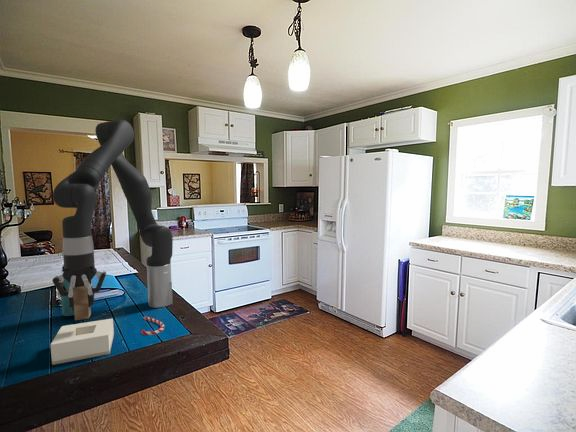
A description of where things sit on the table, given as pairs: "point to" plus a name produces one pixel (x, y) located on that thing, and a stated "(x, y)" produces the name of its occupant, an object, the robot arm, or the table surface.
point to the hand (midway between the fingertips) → (82, 306)
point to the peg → (81, 302)
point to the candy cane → (153, 322)
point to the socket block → (82, 341)
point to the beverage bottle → (66, 300)
